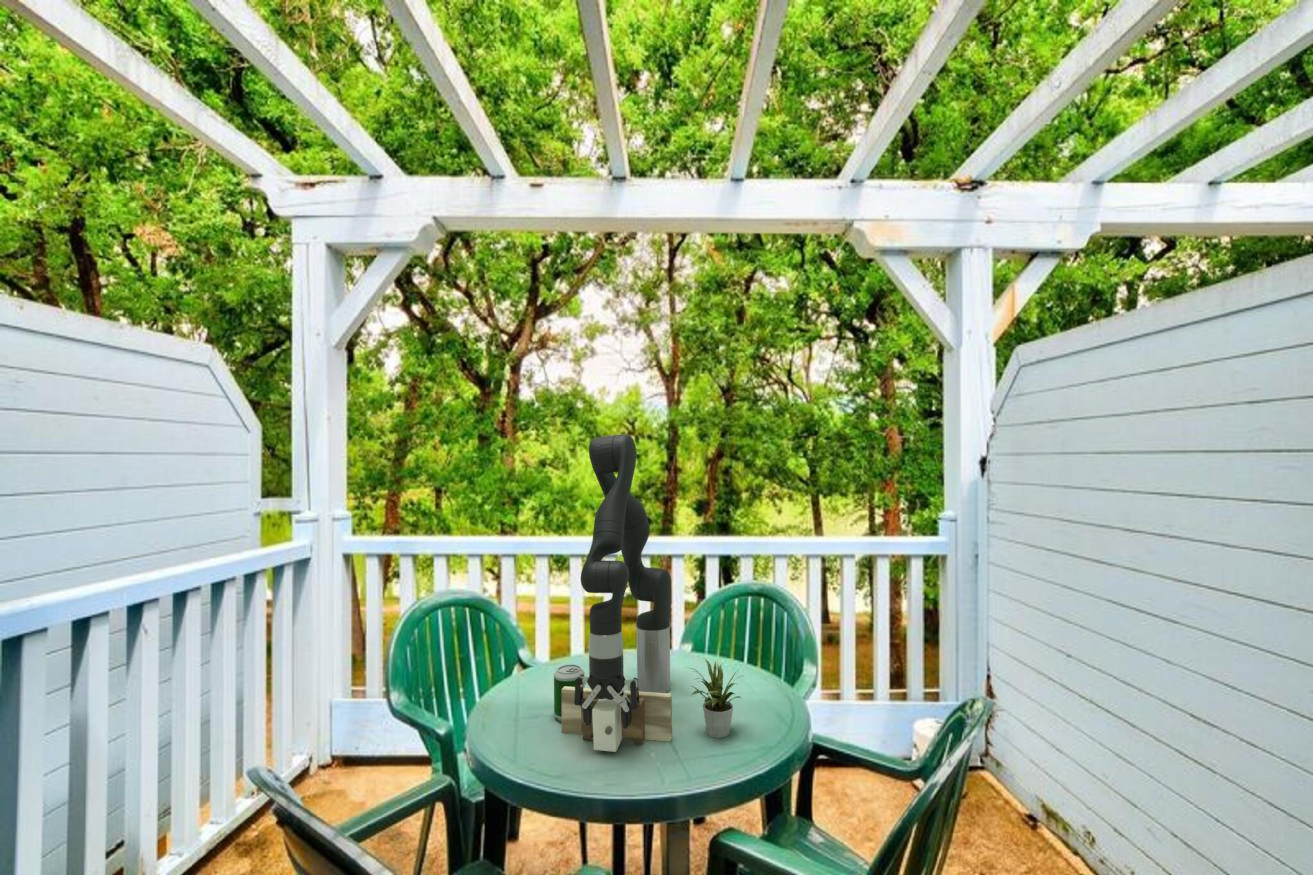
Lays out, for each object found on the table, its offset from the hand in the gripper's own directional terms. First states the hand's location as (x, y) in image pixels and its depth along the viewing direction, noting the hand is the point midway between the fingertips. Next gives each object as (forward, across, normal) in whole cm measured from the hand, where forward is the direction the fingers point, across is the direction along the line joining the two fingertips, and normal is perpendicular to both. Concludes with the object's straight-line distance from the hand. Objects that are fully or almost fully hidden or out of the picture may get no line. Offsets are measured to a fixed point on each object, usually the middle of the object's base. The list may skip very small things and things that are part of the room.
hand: (607, 725), depth 131 cm
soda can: (+6, +14, -15) cm, 21 cm away
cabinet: (+4, 0, -2) cm, 5 cm away
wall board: (+6, 0, -6) cm, 8 cm away
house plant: (+6, -22, -14) cm, 26 cm away
